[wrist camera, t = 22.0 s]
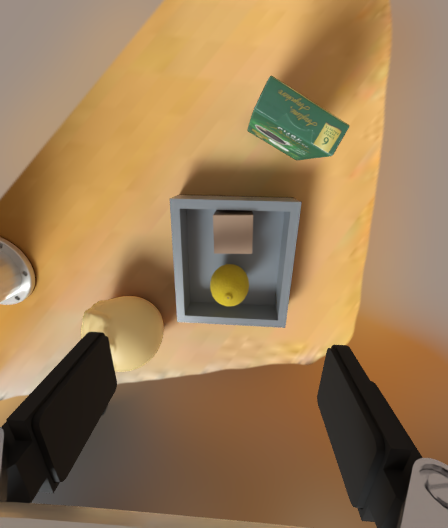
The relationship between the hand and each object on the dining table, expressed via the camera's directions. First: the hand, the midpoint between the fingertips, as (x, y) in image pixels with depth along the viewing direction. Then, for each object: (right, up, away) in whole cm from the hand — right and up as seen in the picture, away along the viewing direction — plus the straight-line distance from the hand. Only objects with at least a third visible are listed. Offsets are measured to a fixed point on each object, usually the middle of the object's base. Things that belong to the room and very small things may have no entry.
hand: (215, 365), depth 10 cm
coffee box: (+7, +21, +22) cm, 31 cm away
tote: (+2, +5, +28) cm, 28 cm away
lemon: (+1, +3, +28) cm, 29 cm away
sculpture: (-15, -5, +33) cm, 37 cm away
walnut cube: (+2, +10, +25) cm, 27 cm away
